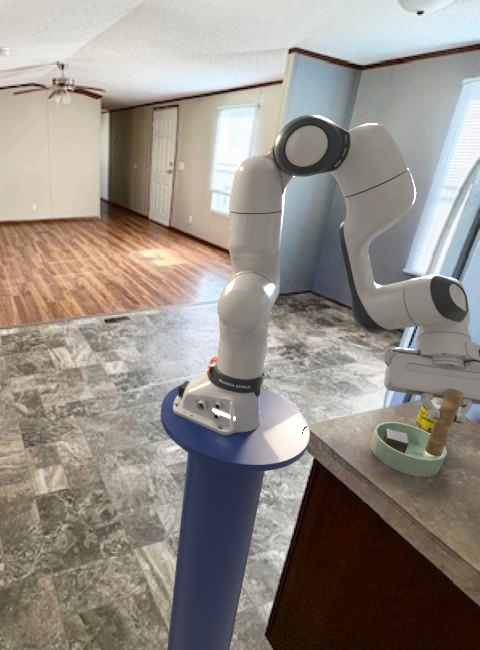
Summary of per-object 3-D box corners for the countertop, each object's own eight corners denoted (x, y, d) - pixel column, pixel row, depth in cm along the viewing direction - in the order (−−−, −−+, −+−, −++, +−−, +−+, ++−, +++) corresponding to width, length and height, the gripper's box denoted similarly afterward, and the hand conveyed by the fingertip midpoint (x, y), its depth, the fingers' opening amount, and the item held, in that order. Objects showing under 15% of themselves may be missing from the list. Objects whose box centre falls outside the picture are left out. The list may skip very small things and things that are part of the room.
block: (382, 451, 97) (387, 437, 96) (382, 442, 101) (386, 428, 99) (403, 457, 95) (408, 443, 94) (402, 447, 99) (407, 433, 97)
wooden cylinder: (426, 453, 84) (447, 393, 79) (424, 446, 87) (445, 387, 81) (442, 458, 83) (465, 397, 78) (439, 450, 85) (462, 390, 80)
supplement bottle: (409, 424, 107) (422, 390, 103) (425, 421, 109) (438, 387, 105) (430, 438, 103) (445, 403, 99) (447, 434, 104) (462, 399, 100)
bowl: (370, 463, 95) (376, 447, 93) (369, 430, 105) (374, 415, 104) (444, 485, 89) (451, 468, 87) (435, 448, 99) (441, 433, 98)
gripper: (390, 340, 87) (390, 406, 82) (515, 356, 80) (522, 428, 75) (379, 351, 92) (378, 413, 87) (495, 366, 86) (501, 434, 81)
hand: (446, 420), depth 81 cm, fingers closed on wooden cylinder, 2 cm apart
